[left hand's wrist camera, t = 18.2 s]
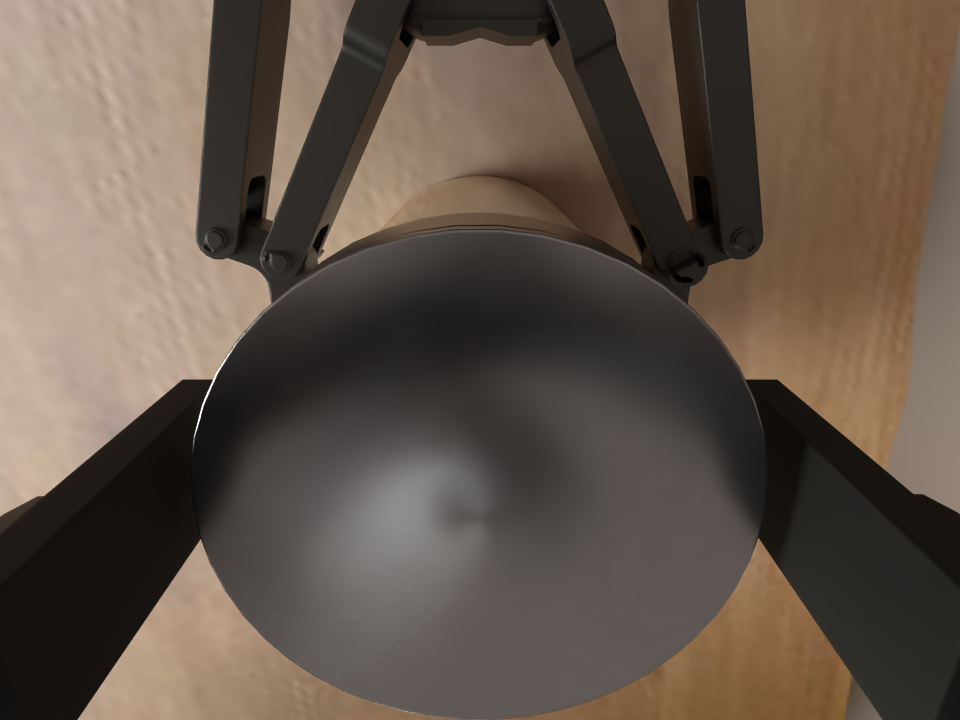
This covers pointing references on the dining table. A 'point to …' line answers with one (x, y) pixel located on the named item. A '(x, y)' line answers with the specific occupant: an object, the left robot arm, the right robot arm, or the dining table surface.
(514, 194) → the jar
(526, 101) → the dining table surface
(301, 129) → the dining table surface
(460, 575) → the lid
